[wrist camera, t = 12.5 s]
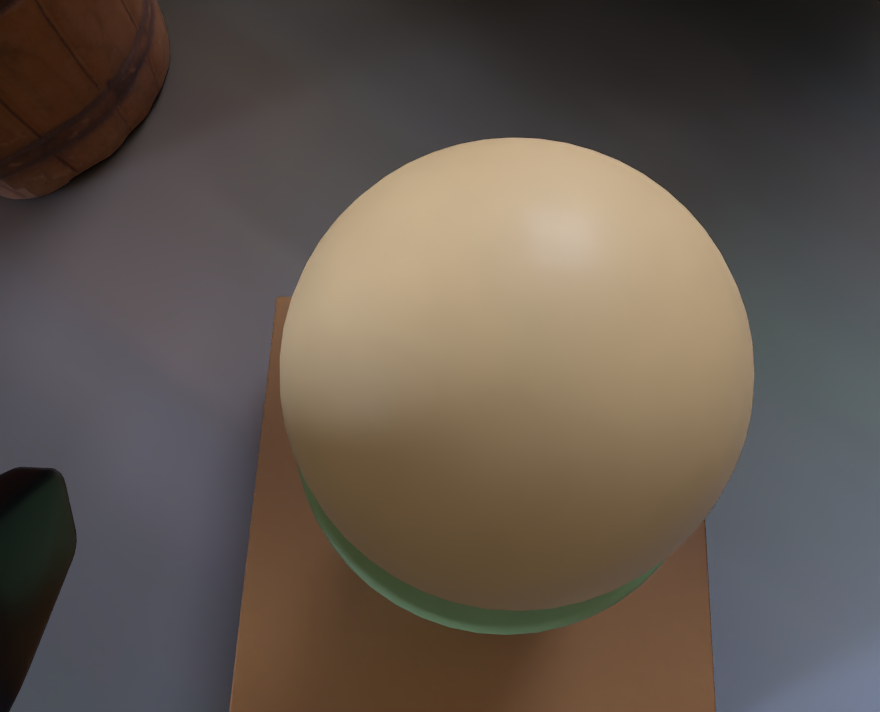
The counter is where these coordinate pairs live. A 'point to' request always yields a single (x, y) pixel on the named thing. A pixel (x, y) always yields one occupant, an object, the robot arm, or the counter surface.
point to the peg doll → (514, 383)
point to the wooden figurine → (73, 85)
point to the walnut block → (434, 645)
